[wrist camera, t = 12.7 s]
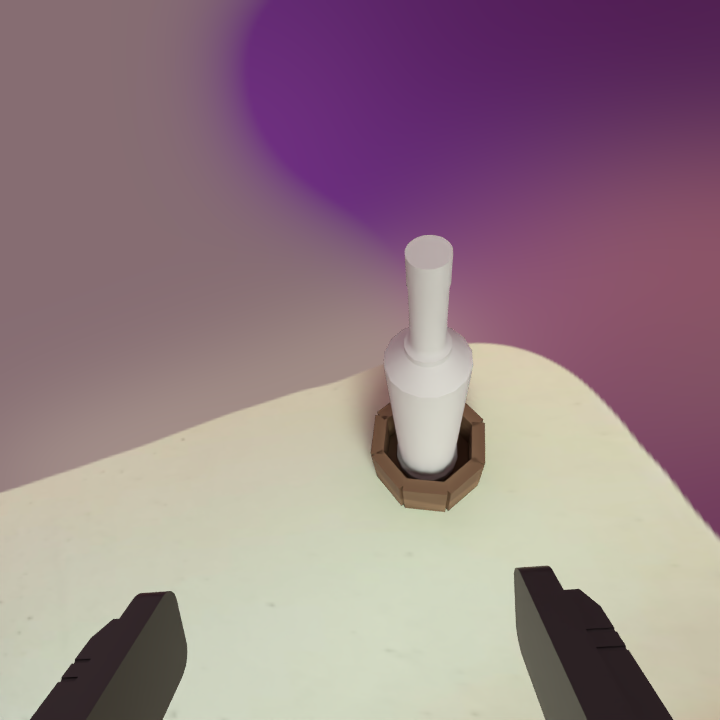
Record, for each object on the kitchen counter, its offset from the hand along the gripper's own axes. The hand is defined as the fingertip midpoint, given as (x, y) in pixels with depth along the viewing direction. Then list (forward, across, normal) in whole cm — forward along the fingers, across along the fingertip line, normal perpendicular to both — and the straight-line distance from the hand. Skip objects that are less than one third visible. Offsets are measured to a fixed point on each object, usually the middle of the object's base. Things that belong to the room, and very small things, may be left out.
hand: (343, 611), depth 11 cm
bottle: (+29, -4, +10) cm, 31 cm away
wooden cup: (+29, -4, +10) cm, 31 cm away
